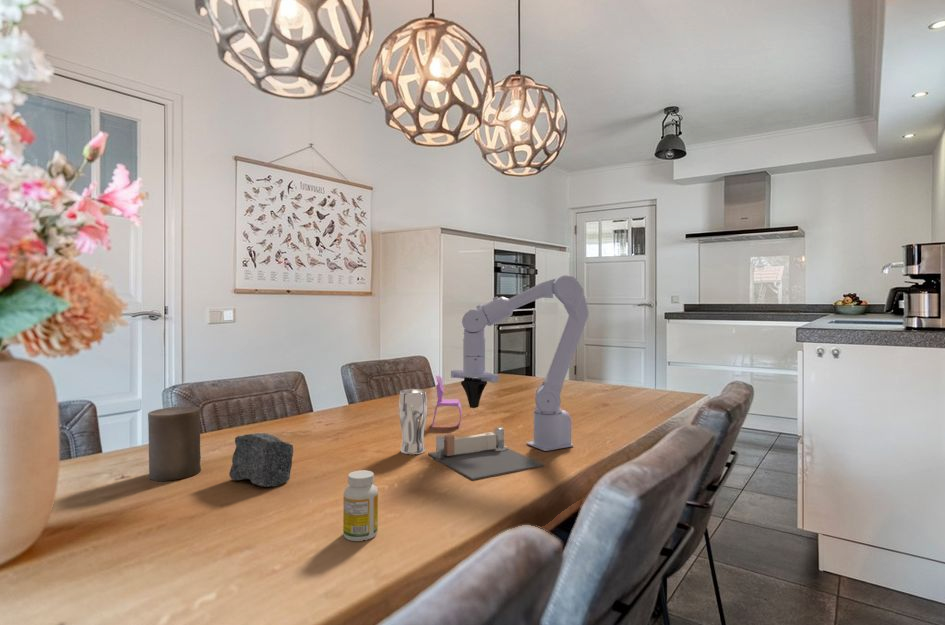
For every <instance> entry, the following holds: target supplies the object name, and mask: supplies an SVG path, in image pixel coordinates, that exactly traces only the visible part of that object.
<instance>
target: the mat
mask: <svg viewBox="0 0 945 625" xmlns="http://www.w3.org/2000/svg"><path fill="white" fill-rule="evenodd" d="M428 456H429V457H431V458H432V459H435V460H436V451H432V452H428ZM440 462H441V463H442V464H443V465H445V466H447V467H449V468H450V469H452V470H454V471H456V472H458V473H459V474H461V475H462V476H464V477H466V478H468V479H469V480H471V481H476V480H482V479H485V478H491V477H497V476H500V475H501V476H502V475H506V474H510V473H511V472H512V473H517V472H521V471H526V470H532V469H536V468H537V469H538V468H542V467H545V465H546V464H545V463H543V462H540V461H538V460H536V459H533V458H531V457H529V456H526V455H524V454H521V453H519V452H517V451H515V450H512V449H511V448H508V450H506V451H493V450H491V449H490V450H487V449H486V450H480V451H474V452H468V453H462V454H456V455H450V456H445V459H443V460H440ZM440 462H439V463H440ZM541 466H542V467H541ZM531 468H532V469H531Z"/></svg>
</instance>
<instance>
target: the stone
mask: <svg viewBox="0 0 945 625" xmlns="http://www.w3.org/2000/svg"><path fill="white" fill-rule="evenodd" d="M234 443H235V449H234V452H233V455H232V457H231V458H232V459H231V463H232V465H231V467H230V471H229V474H228V475H229V478H230V479H231V480H232V481H242V480H250V482H251V483H252V484H253V485H257V486H259V487H262V488H263V487H265V488H266V487H267V488H269V487H277V486H282V485H283V484H285V483H287V482H288V481H290V478H291V477H290V476H291V471H292V470H291V469H292V465H293V457H294V445H293V444H292V443H290V442H286V441H284V440H282V439H280V438H279V437H276V436H274V435H273V434H269V433H266V432H262V433H261V432H260V433H259V432H257V433H247V434H243V435H237V436H236V437H235V438H234ZM281 484H282V485H281Z"/></svg>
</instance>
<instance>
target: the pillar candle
mask: <svg viewBox="0 0 945 625" xmlns="http://www.w3.org/2000/svg"><path fill="white" fill-rule="evenodd" d="M200 411H201V410H200V407H199V406H196V405H195V406H194V405H190V406H188V405H185V406H184V405H183V406H177V404H175V403H174V406H171V407H164V408H158V409H155V410H152V411H149V412H148V413H147V421H148V422H147V423H148V426H147V427H148V428H147V429H148V472H149V473H148V476H149V479H150V480H151V481H155V482H165V481H166V482H168V481H174V480H176V481H177V480H181V479H186V478H190V477H193V476H196V475H197V474H199V473H200V472H201V471H202V469H201V468H202V467H201V461H202V460H201V413H200Z"/></svg>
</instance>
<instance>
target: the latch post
mask: <svg viewBox="0 0 945 625" xmlns="http://www.w3.org/2000/svg"><path fill="white" fill-rule="evenodd" d="M435 452H436V459H435V461H436V462H439V463H440V460H443V459H445V456H447V455H445V437H444V435H437V436H436V437H435Z"/></svg>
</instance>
